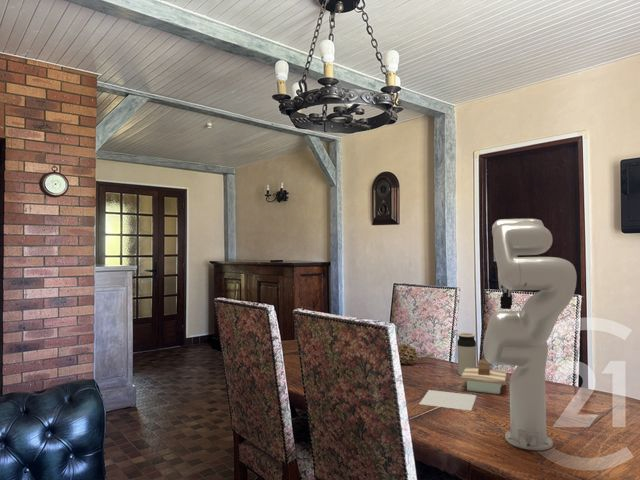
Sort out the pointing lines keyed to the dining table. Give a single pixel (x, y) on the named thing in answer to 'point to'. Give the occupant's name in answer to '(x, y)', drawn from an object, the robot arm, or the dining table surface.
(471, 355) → the travel mug
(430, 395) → the mat
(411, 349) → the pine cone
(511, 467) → the dining table surface
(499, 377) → the lid
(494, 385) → the dish
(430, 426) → the dining table surface
